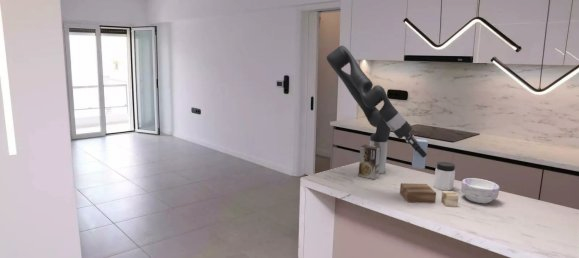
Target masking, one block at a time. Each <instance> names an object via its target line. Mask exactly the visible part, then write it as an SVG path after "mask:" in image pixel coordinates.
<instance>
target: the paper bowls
mask: <svg viewBox="0 0 579 258" xmlns="http://www.w3.org/2000/svg"><path fill="white" fill-rule="evenodd" d="M460 191H461V193H462V194H464V196H465V198H466V199H467V200H468V201H471V202H473V203H477V204H489V203H491V202H492V201H493V200H495V199H498V197H499V193H500V185H499V184H497V183H496V182H494V181H490V180H487V179H482V178H476V177H471V178H470V177H467V178H464V179H462V181H461V185H460Z"/></svg>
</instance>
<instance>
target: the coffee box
mask: <svg viewBox="0 0 579 258" xmlns="http://www.w3.org/2000/svg"><path fill="white" fill-rule="evenodd" d="M380 149H381V147H379V146H372V145H370V144H363V145H361V146H360V147H359V165H358V177H361V178H367V179H370V180H371V179H372V180H376V179H378V178H379V177H380V174H379V164H380Z"/></svg>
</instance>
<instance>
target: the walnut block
mask: <svg viewBox="0 0 579 258" xmlns="http://www.w3.org/2000/svg"><path fill="white" fill-rule="evenodd" d="M399 194H400V195H401V196H402V197H403V199H404V200H405V201H406V202H407V203H417V204H418V203H419V204H420V203H421V204H436V199H437V192H436V191H435V190H434V189H433V188H431V186H430V185H428V183H406V182H405V183H404V182H400V187H399Z"/></svg>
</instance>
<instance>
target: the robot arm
mask: <svg viewBox="0 0 579 258" xmlns="http://www.w3.org/2000/svg"><path fill="white" fill-rule="evenodd" d="M326 60H327V63H328V64H329V66H330V67H331V68H332V69H333V72H335V73H336V75H338V77H339V78H340V80H341V81H342V82H343V84H344V85H345V87H346V89H347V90H348V92H349V94H351V96H352V98H353V99H354V100H355V102H356V103H357V105H358V106H359V108H360V109H361V111H362V113H363V114H364V116H365V117H366V120H367V122H368V123H369V125H371V126H372V127H374V128H376V129H375V133H372V134H370V135H369V136H370V139H369V145H372V146H379V147H381V149H380V164H379V175H380V174H384V173H386V164H387V157H388V156H387V155H388V154H387V153H388V141H389V137H390V135H391V132H392V133H393V134H394V135H395V136H396V137H397V138H398V139H402V138H405V139H404V141H405V142H406V143H408V145H409V146H410V147H411V148H412V149H413V150H414V149H415V151H417V152H418V153H419V154H420V155H421V156H422V157H423V158H424V157H425V156H426V157H427V155H428V154H426V153H425V152H424V150H423V149H422V148H421V146H420V145H419V144H418V141H417V140H416V139H417V138H416V137H415V135H414V134H413V133H412V132H411V131H412V130H413V126H412V125H411V124H410V123H409V122H408V121H407V119H406V118H405V117H404V116H403V115H402V114H401V113H400V112H399V111H398V110H397V109H396V108H395V106H394V105H393V104H392V102H391V101H390V99H389V96H388V94H387V92H386V90H385V88H383V86H381V85H374V86H373V84H374V83H373V81H371V79H370V78H369V77H368V75H366V74H365V72H364V71H363V70H362V67H361V66H360V64H359V63H358V62H357V60H356V59H355V57H354V56H353V54H352V53H351V52H350V51H349V49H348V48H347V47H346V46H344V45H339V46H338V47H337V48H335V49H334V50H333V51H331V52H330V53H328V54H327V56H326ZM348 64H349V67H350V74H349V73H348V72H346V71H344V70H343V68H344V67H346V66H347V65H348ZM382 102H383V105H382V107H381V108H380V109H378V108H377V106H378V105H379V104H380V103H382ZM416 145H417V146H418V147H417V148H415V146H416Z"/></svg>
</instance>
